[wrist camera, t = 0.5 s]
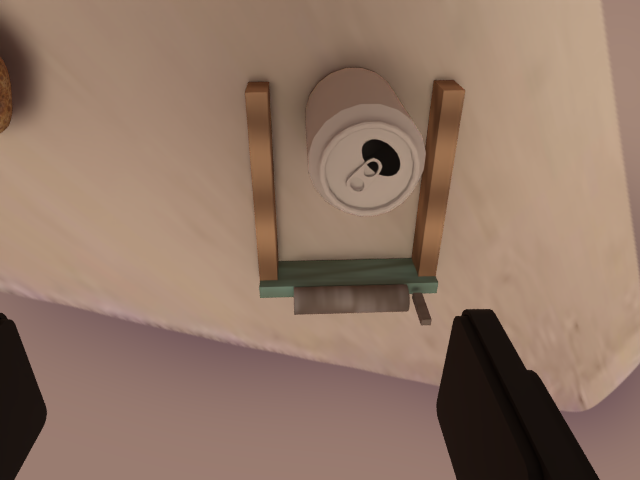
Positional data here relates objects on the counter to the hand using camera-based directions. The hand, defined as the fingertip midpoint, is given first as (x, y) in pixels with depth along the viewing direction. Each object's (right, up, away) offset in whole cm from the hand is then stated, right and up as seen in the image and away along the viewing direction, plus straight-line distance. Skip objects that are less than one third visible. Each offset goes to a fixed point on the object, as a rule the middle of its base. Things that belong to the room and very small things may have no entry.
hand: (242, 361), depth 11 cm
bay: (+4, +8, +32) cm, 33 cm away
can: (+4, +13, +29) cm, 32 cm away
